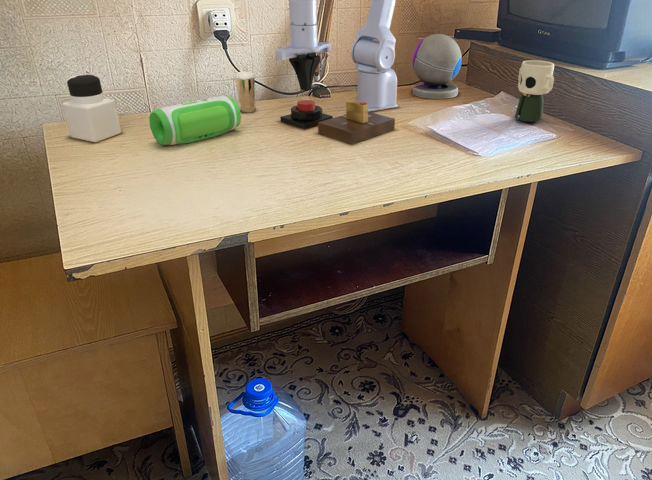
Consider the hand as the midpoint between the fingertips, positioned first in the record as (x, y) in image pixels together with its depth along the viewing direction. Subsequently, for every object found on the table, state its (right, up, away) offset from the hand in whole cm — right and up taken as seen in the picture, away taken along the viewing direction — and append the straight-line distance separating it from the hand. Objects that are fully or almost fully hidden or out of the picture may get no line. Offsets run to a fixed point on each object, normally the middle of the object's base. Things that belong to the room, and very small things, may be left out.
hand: (305, 89), depth 122 cm
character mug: (+52, -5, +8) cm, 53 cm away
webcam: (+33, +8, +28) cm, 44 cm away
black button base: (0, -6, +4) cm, 7 cm away
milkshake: (-15, -2, +11) cm, 19 cm away
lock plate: (+11, -10, -2) cm, 15 cm away
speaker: (-22, -13, -7) cm, 26 cm away
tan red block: (+11, -8, -3) cm, 14 cm away
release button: (0, -4, +2) cm, 4 cm away
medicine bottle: (-43, -12, -7) cm, 46 cm away
